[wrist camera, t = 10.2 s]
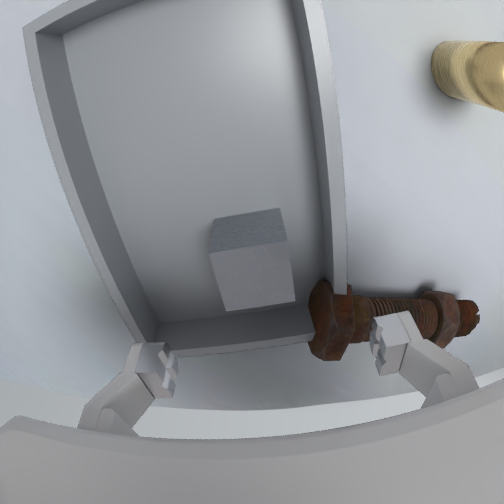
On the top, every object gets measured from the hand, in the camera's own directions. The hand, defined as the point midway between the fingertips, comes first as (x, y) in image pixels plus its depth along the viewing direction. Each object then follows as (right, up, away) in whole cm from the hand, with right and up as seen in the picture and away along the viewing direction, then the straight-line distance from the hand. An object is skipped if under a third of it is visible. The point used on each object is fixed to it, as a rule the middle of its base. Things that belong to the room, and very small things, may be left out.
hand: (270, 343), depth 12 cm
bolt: (+11, 0, +12) cm, 16 cm away
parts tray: (-3, +8, +6) cm, 11 cm away
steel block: (-1, +4, +8) cm, 9 cm away
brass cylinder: (+12, +15, +3) cm, 20 cm away
